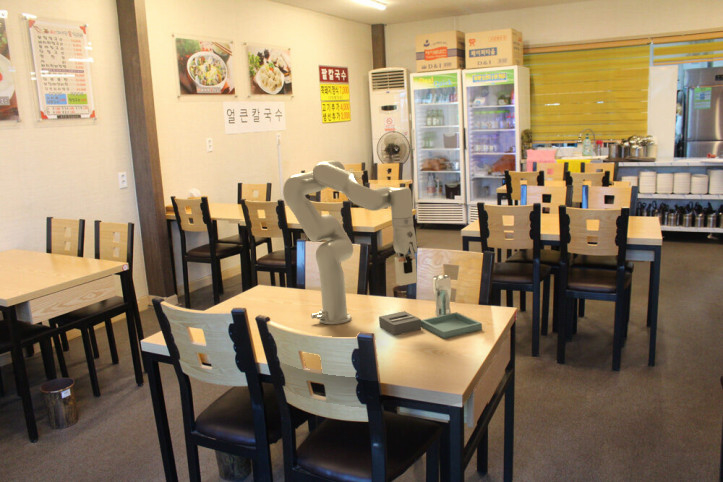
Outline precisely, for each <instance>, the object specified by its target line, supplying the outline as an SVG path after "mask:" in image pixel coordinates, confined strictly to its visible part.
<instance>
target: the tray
mask: <svg viewBox="0 0 723 482" xmlns="http://www.w3.org/2000/svg"><path fill="white" fill-rule="evenodd" d="M482 325H483V323H482V322H480V321H479V320H475V319H473V318H471V317H468V316H467V315H464V314H462V313H459V312H451V314H446V315H442V316H437V315H436V316H434V317H429V318H424V319H421V329H424V330H426V331H429V332H430V333H432V334H434V335H436V336H438V337H440V338H442V339H444V340H446V339H449V338H453V337H457V336H462V335H467V334H470V333H475V332H479V331H482V330H483V326H482Z"/></svg>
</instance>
